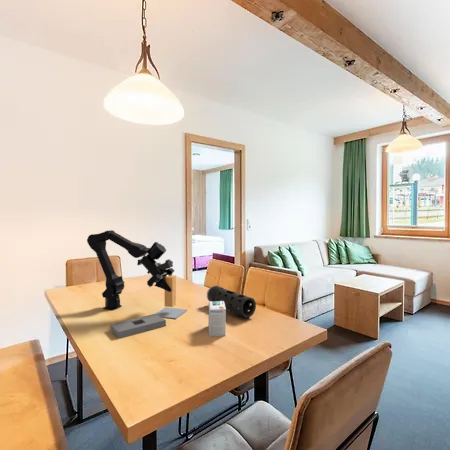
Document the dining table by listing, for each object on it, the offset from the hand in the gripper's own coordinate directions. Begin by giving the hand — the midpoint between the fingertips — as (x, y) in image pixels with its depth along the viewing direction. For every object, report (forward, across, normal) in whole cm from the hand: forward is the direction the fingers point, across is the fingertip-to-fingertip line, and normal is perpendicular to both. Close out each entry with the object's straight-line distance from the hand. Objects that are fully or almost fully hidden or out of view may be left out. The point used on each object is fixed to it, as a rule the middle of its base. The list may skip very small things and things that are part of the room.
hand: (172, 290), depth 137 cm
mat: (+7, 0, +9) cm, 12 cm away
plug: (+4, 0, +6) cm, 8 cm away
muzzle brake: (+26, +10, -10) cm, 30 cm away
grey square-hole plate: (+3, -20, +13) cm, 24 cm away
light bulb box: (+26, -14, -10) cm, 32 cm away
